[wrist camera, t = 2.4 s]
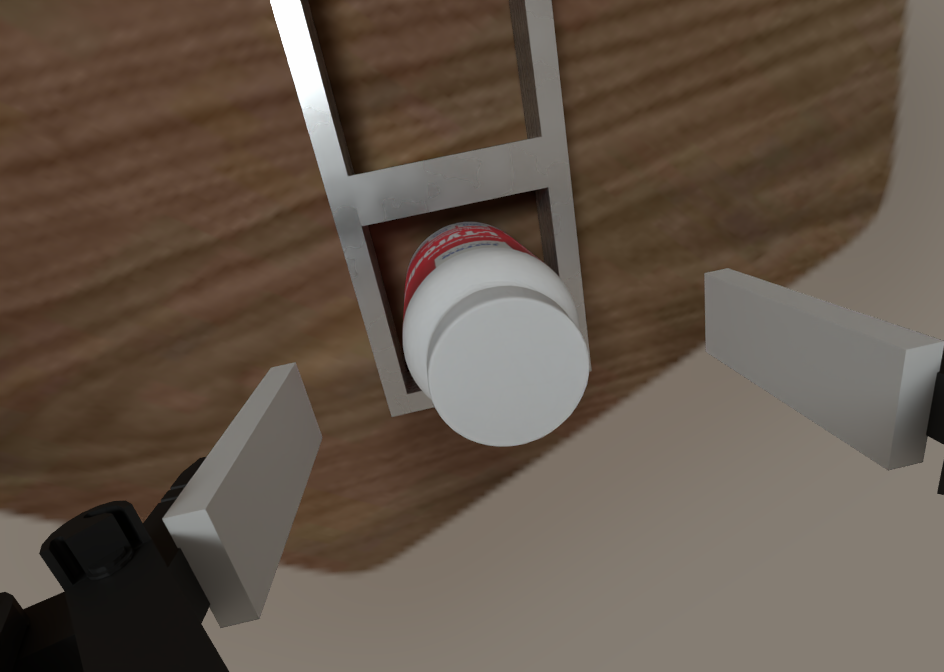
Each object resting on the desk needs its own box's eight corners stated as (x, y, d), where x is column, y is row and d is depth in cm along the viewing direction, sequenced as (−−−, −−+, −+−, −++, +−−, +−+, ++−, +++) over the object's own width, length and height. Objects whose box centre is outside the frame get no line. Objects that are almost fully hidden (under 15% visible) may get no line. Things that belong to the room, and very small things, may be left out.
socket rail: (393, 393, 25) (391, 420, 23) (148, -470, 14) (89, -611, 12) (575, 351, 26) (593, 373, 23) (470, -514, 15) (484, -658, 12)
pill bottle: (483, 193, 22) (546, 221, 12) (550, 294, 24) (652, 391, 14) (378, 271, 23) (352, 360, 13) (452, 363, 25) (482, 504, 15)
